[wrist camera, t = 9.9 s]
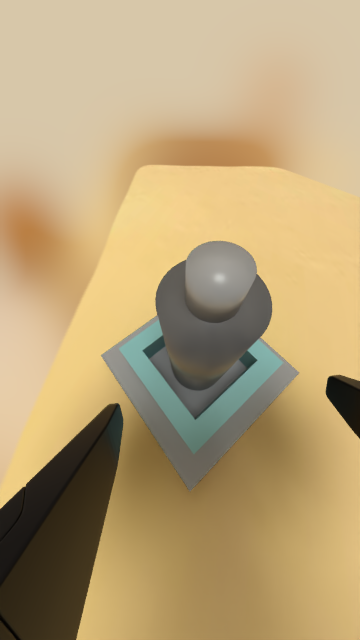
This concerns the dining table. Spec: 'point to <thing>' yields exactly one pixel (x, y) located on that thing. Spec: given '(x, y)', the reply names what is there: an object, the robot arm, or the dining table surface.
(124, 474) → the dining table surface
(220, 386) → the socket
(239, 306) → the plug
